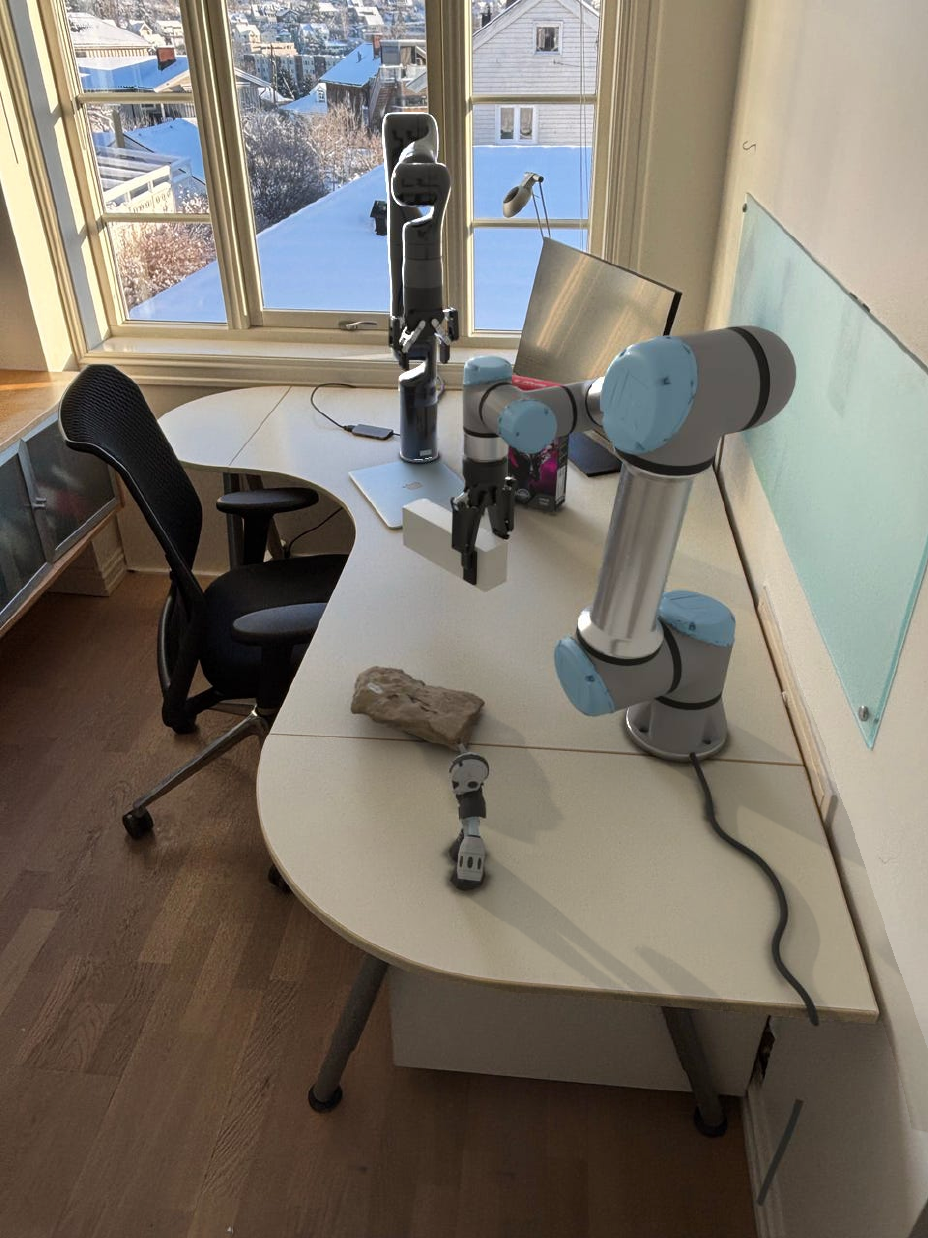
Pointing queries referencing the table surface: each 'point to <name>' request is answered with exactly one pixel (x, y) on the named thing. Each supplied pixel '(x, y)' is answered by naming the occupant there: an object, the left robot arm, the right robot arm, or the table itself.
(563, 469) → the graphics card box
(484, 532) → the bar
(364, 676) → the stone
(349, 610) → the table surface
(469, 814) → the robot
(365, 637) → the table surface
